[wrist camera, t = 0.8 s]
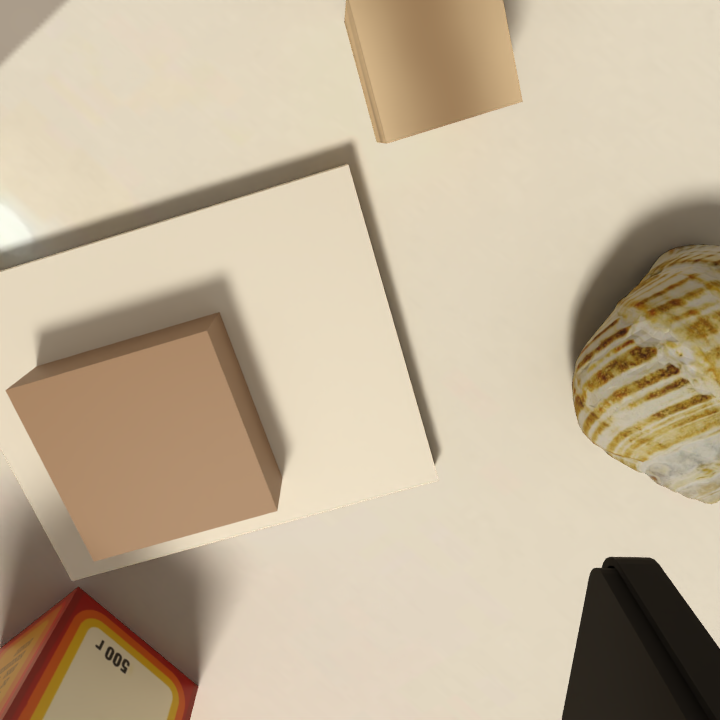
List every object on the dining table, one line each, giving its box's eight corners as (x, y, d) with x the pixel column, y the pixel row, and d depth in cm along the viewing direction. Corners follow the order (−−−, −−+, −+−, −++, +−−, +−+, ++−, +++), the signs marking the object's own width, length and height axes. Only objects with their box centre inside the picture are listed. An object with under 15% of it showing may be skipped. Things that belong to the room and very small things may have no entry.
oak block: (459, -15, 27) (492, -56, 21) (485, 108, 29) (522, 101, 23) (344, 22, 27) (346, -9, 22) (376, 142, 29) (386, 143, 23)
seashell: (766, 201, 30) (934, 355, 23) (707, 347, 37) (821, 499, 30) (550, 242, 29) (653, 410, 22) (532, 381, 36) (606, 542, 29)
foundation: (347, 163, 29) (349, 168, 25) (434, 466, 34) (448, 512, 30) (-62, 289, 30) (-127, 314, 26) (82, 563, 35) (47, 622, 31)
